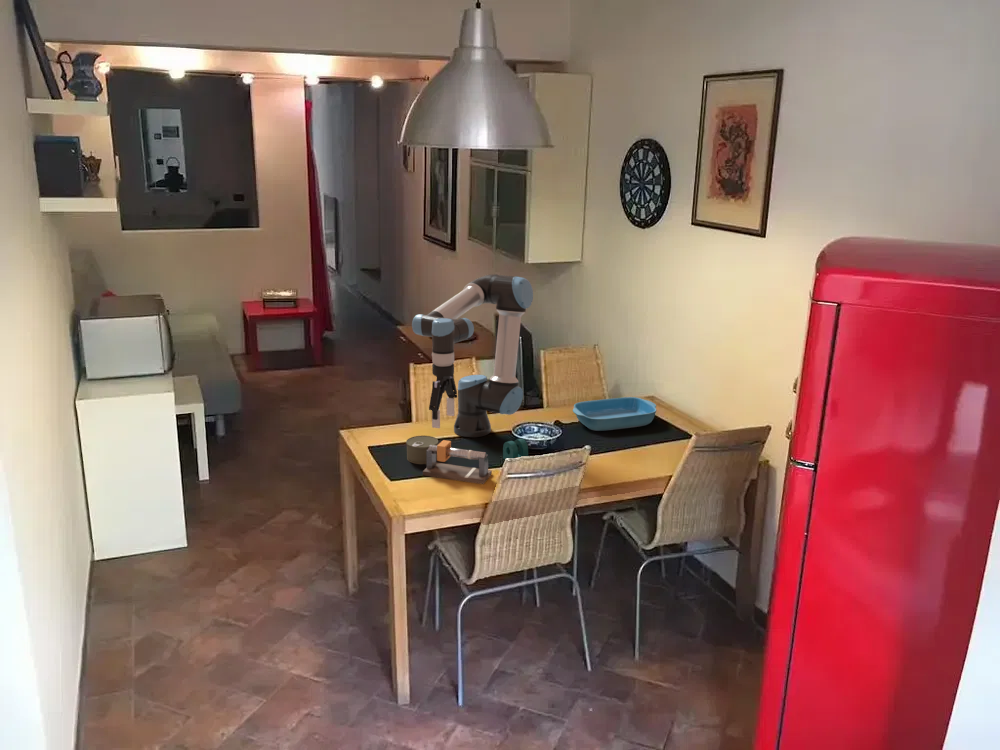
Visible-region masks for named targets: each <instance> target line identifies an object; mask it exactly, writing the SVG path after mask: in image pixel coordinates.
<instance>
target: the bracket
mask: <svg viewBox="0 0 1000 750" xmlns="http://www.w3.org/2000/svg"><path fill="white" fill-rule="evenodd" d="M521 456H529V446H528V443H527V441H526V439H524V438H516V439H514V440H508V441H505V442H504V443H503V447H502V459H503V460H505V458H515V457H521Z"/></svg>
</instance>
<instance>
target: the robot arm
mask: <svg viewBox="0 0 1000 750" xmlns="http://www.w3.org/2000/svg"><path fill="white" fill-rule="evenodd" d="M533 291H534V289H533V285H532V284H531V281H529V280H528V279H527V278H525V277H521V276H514V275H503V274H496V273H491V274H486V275H483V276H480V277H478V278H475V279H473V280H471V281H470V282H468V283H467V284H465V286H464V287H463V289H462V290H461V291H460V292H459V293H457V294H455V295H454V296H452V297H451V298H449V299H448V300H446V301H445V302H443V303H441V305H439V306H438V307H436V308H434V309H433V310H432V311H431V312H429V313H427V314H418V313H417V314H416V315H415V316H414V317H413V319H412V322H411V327H412V331H413V333H414V334H415V335H418V336H422V337H429V338H431V342H432V346H431V347H432V348H431V351H432V352H431V357H432V358H431V359H432V365H431V367H432V369H431V371H432V372H431V373H432V375H433V376H434V377H435V378H436V381H435V380H434V381H433V380H432V384H431V385H432V388H431V393H430V394H431V395H430V399H429V404H428V405H429V406H428V410H429V411H431V428H433V429H434V428H435V429H440V428H441V409H440V405H441V403H442V398H443V395H444V394H446V396H447V397H446V416H451V417H454V416H455V399H457V414H456V415H457V416H456V419H455V420H454V424H453V432H454V434H456V435H457V436H460V437H465V438H479V437H480V438H481V437H484V436H487V435H489V434H490V433H491V431H492V426H491V425H492V424H491V422H490V419H489V416H488V413H487V411H488V412H491V413H496V414H500V415H508V416H509V415H510V416H511V415H514V414H515V413H516V412H517V411H518V410H519V408H520V407H521V404H522V402H523V398H524V391H523V390H524V389H523V388H522V387H520V386H519V380H518V378H517V377H516V371H517V364H518V363H517V361H518V352H519V342H520V332H521V320H522V316H524V315H525V314H526V310H527V309H529V308H530V307H531V305H532V303H533V299H534V292H533ZM483 304H492V305H495V310H496V312H497V313H498V324H497V334H496V335H497V337H496V344H495V345H496V346H495V356H494V366H493V367H494V368H493V374H492V376H490V377H489V379H488V377H487V376H486V374H485V375H484V374H471V375H465V376H463V377H461V378H460V379H459V380H458V383H457V387H456V382H455V376H454V374H455V365H454V363H455V344H456V343H459V342H462V341H466V340H468V339H469V338H471V337H472V336H473V334H474V331H475V326H474V323H473V322H472V320H470V319H469V318H467V317H462V316H463V315H465V314H466V313H467V312H468V311H470V310H471V309H472V308H474V307H479V306H481V305H483ZM461 317H462V318H461Z"/></svg>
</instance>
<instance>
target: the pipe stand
mask: <svg viewBox="0 0 1000 750" xmlns="http://www.w3.org/2000/svg"><path fill="white" fill-rule="evenodd" d="M436 454H437V446H435V445H430V446H429V448H428V450H427V451H426V455H427V464H426V468H424V470H422V476H425V477H432V478H433V477H434V478H439V479H445V480H453V481H459V482H467V483H471V484H472V483H473V484H479V485H484V484H485V483H486V482H487V480H488V479H489V478H490V477H491V476H492V475H491V474H493V471H492V470H490V469H489V454H487V452H485V451H478V450H472V449H463V448H455V447H451V448H450V447H446V456H451V457H455V458H461V459H468V460H475V461H478V468H477V467H471V466H463V465H457V464H456V465H455V464H450V463H444V462H437V460H436Z"/></svg>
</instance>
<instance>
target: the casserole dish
mask: <svg viewBox="0 0 1000 750" xmlns="http://www.w3.org/2000/svg"><path fill="white" fill-rule="evenodd" d="M572 412H573V413H574V414H575V415H576V418H577V420H578V421H579V422H580V423H581V424H582V425H583V426H585V427H587V429H589V430H591V431H594V432H596V431H597V432H599V431H600V432H601V431H604V432H605V431H613V430H623V429H630V428H631V429H632V428H637V427H638V428H639V427H644V426H647V425H649V424H651V423H652V421H653V420H654V418H655V416H656V413H657V405H656V403H654V402H652V401H651V400H648V399H643V398H641V397H633V396H624V397H616V398H615V397H614V398H613V397H612V398H603V399H602V398H601V399H593V400H585V401H580V402H576V403H575V404H574V405H573V409H572Z"/></svg>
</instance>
